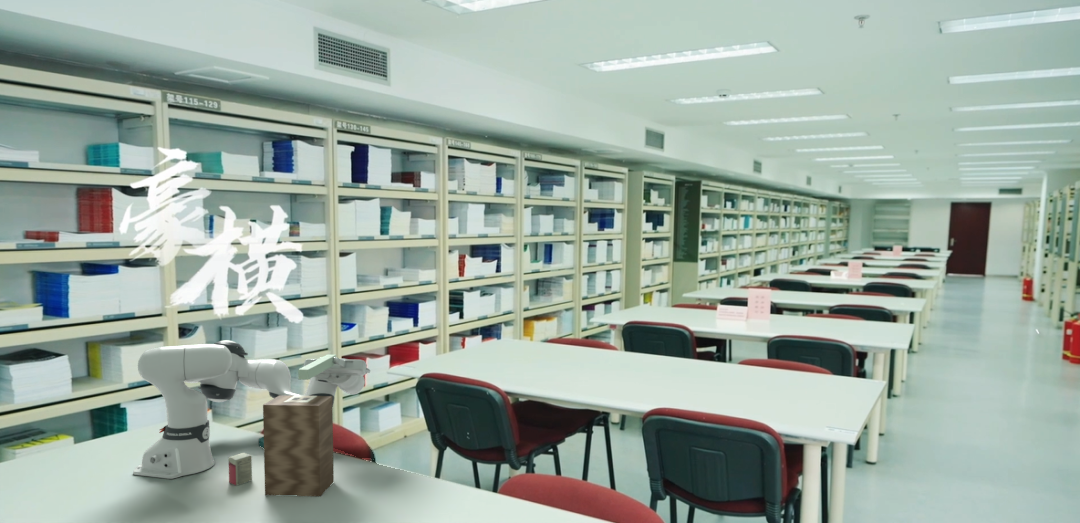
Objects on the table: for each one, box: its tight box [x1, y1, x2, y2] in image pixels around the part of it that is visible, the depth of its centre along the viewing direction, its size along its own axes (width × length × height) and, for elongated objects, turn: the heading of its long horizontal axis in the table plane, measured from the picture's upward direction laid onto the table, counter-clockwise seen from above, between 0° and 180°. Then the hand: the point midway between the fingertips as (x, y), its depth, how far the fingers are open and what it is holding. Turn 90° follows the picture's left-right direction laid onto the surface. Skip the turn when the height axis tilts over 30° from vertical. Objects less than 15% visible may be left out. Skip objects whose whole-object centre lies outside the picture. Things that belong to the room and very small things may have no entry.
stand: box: [262, 395, 335, 497], centre depth 183 cm, size 16×10×26 cm, turn 87°
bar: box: [297, 354, 337, 381], centre depth 196 cm, size 3×22×3 cm, turn 177°
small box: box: [227, 452, 253, 487], centre depth 189 cm, size 5×4×8 cm
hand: (328, 359), depth 204 cm, fingers closed on bar, 3 cm apart
